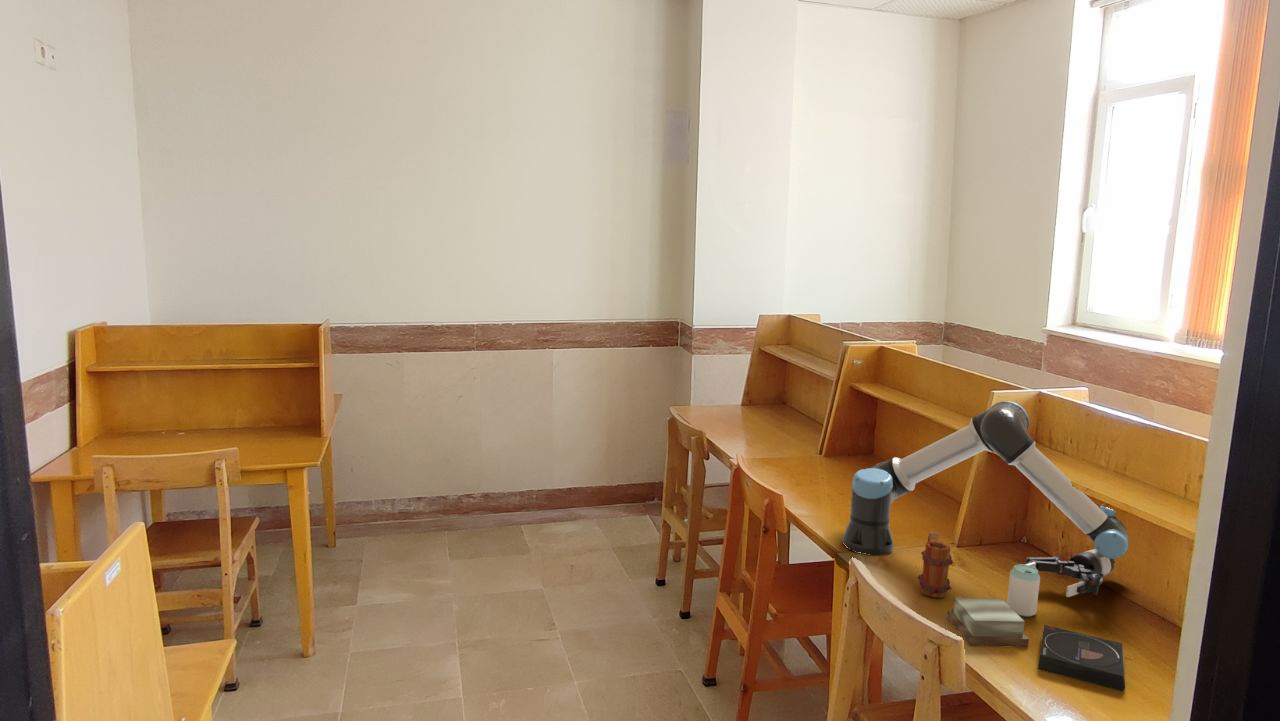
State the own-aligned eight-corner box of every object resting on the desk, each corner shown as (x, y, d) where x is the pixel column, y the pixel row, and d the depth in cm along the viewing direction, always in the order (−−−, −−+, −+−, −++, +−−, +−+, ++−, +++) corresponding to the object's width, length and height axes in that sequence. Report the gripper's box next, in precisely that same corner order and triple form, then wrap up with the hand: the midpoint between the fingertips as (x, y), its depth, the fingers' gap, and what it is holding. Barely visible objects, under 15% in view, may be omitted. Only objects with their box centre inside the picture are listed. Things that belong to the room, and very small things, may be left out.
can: (1041, 614, 213) (1046, 570, 211) (1025, 620, 209) (1030, 576, 207) (1016, 603, 219) (1021, 560, 217) (1000, 609, 215) (1005, 566, 213)
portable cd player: (1124, 693, 178) (1126, 676, 178) (1037, 670, 186) (1039, 654, 186) (1122, 659, 193) (1125, 643, 192) (1042, 639, 201) (1044, 624, 200)
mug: (951, 603, 217) (957, 550, 215) (919, 600, 219) (924, 546, 216) (943, 580, 232) (948, 529, 229) (913, 577, 233) (917, 526, 231)
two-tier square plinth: (947, 617, 210) (949, 595, 209) (1001, 618, 210) (1003, 596, 209) (970, 645, 196) (972, 622, 195) (1028, 646, 196) (1030, 623, 195)
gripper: (1133, 596, 218) (1087, 614, 207) (1045, 562, 239) (999, 576, 228) (1137, 569, 216) (1091, 586, 205) (1048, 537, 237) (1002, 551, 226)
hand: (1043, 581), depth 217 cm, fingers open, 13 cm apart
